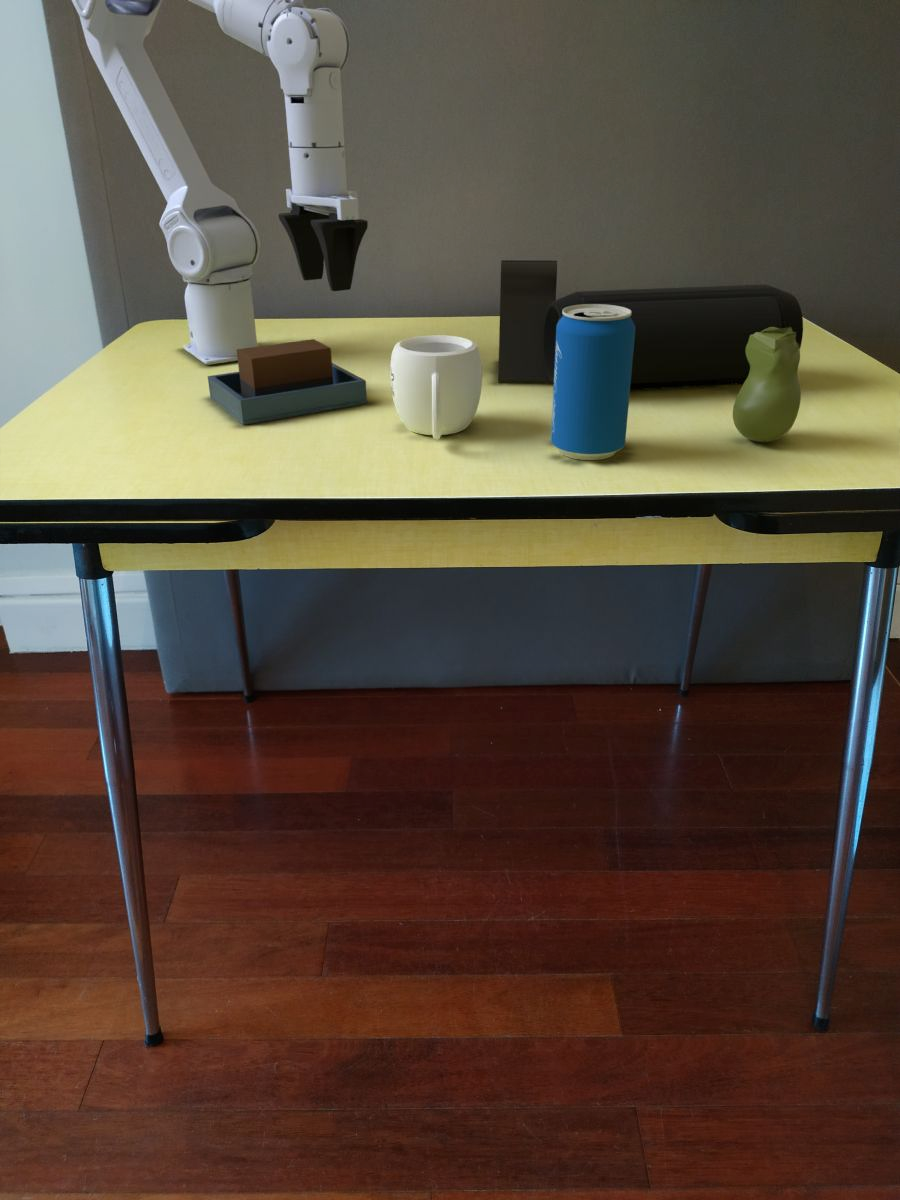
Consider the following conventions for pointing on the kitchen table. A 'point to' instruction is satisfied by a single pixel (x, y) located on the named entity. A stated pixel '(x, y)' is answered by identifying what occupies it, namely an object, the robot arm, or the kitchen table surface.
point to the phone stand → (524, 319)
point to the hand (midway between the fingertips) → (326, 284)
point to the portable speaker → (687, 330)
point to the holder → (287, 397)
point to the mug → (436, 383)
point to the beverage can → (592, 380)
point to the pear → (769, 386)
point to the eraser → (284, 367)
